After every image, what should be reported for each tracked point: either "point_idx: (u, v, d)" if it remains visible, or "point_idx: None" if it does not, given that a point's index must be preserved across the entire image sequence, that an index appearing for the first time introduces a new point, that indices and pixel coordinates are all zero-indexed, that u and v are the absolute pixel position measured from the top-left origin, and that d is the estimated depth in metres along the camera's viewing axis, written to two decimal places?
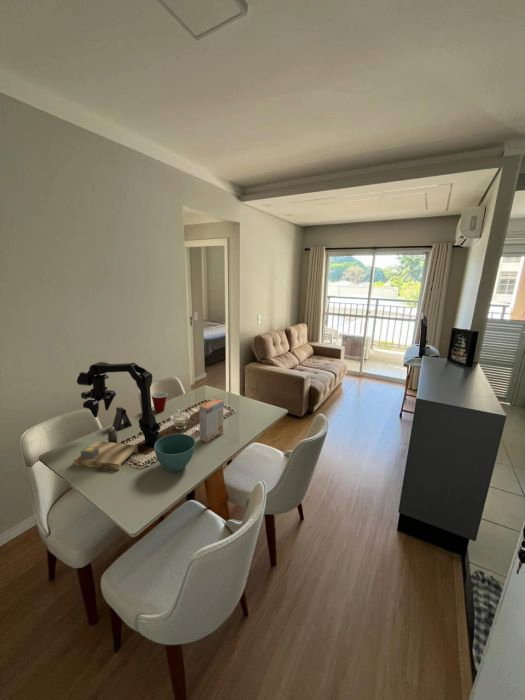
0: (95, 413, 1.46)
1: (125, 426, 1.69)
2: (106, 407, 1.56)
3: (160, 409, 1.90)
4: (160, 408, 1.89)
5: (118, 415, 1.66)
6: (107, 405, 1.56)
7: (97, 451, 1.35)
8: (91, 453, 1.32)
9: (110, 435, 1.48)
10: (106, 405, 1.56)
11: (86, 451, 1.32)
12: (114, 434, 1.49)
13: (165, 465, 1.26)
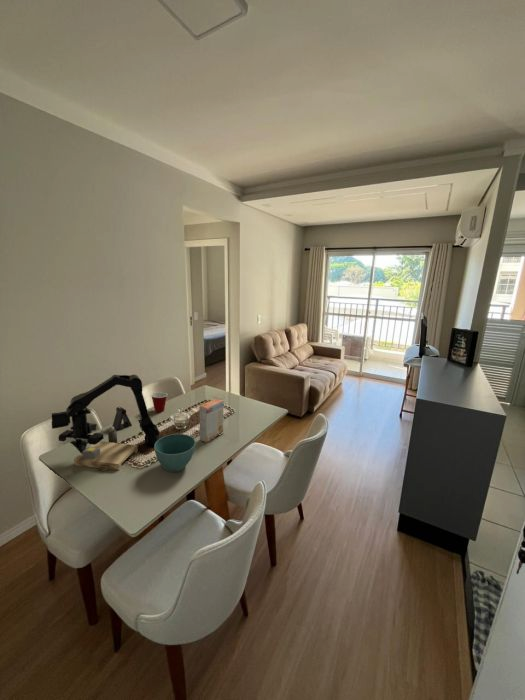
0: None
1: (125, 426, 1.69)
2: None
3: (160, 409, 1.90)
4: (160, 408, 1.89)
5: (118, 415, 1.66)
6: None
7: (98, 451, 1.35)
8: (92, 453, 1.31)
9: (110, 435, 1.48)
10: None
11: (87, 451, 1.32)
12: (114, 434, 1.49)
13: (165, 465, 1.26)
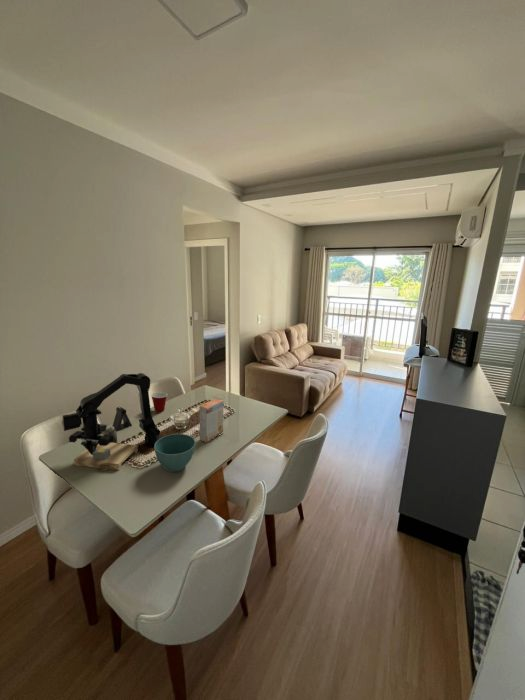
0: None
1: (125, 426, 1.69)
2: None
3: (160, 409, 1.90)
4: (160, 408, 1.89)
5: (118, 415, 1.66)
6: None
7: (109, 452, 1.34)
8: (103, 454, 1.31)
9: None
10: None
11: (98, 452, 1.32)
12: (114, 434, 1.49)
13: (165, 465, 1.26)
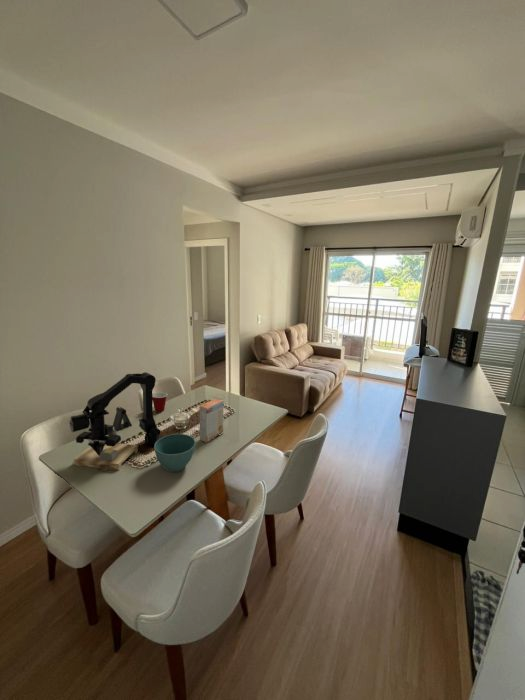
0: None
1: (125, 426, 1.69)
2: None
3: (160, 409, 1.90)
4: (160, 408, 1.89)
5: (118, 415, 1.66)
6: None
7: (116, 453, 1.34)
8: (110, 455, 1.31)
9: (110, 435, 1.48)
10: None
11: (105, 453, 1.31)
12: (114, 434, 1.49)
13: (165, 465, 1.26)
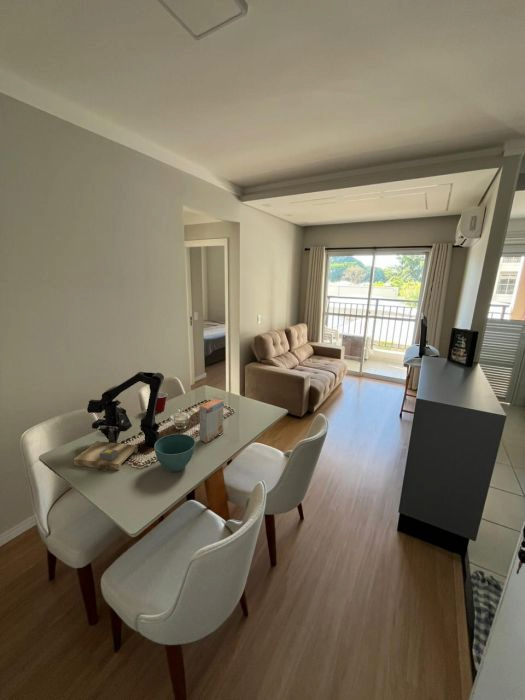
0: None
1: None
2: None
3: (160, 409, 1.90)
4: (160, 408, 1.89)
5: None
6: None
7: (116, 453, 1.34)
8: (110, 455, 1.31)
9: (110, 435, 1.48)
10: None
11: (105, 453, 1.31)
12: None
13: (165, 465, 1.26)
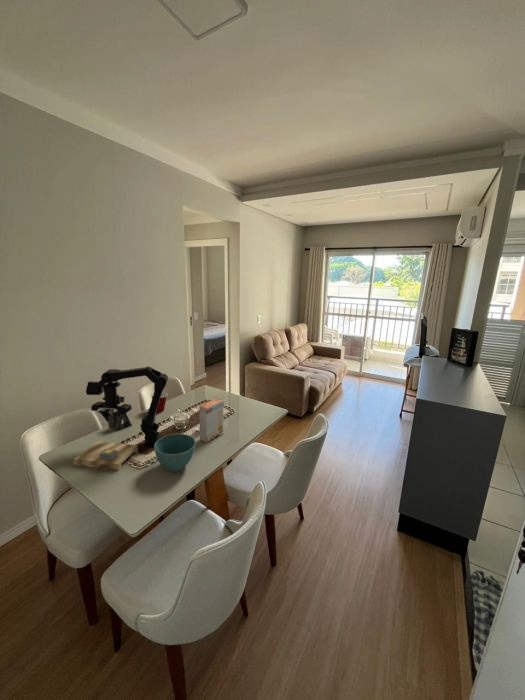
0: None
1: (125, 426, 1.69)
2: None
3: (160, 409, 1.90)
4: (160, 408, 1.89)
5: None
6: None
7: (116, 453, 1.34)
8: (110, 455, 1.31)
9: (110, 417, 1.44)
10: None
11: (105, 453, 1.31)
12: None
13: (165, 465, 1.26)
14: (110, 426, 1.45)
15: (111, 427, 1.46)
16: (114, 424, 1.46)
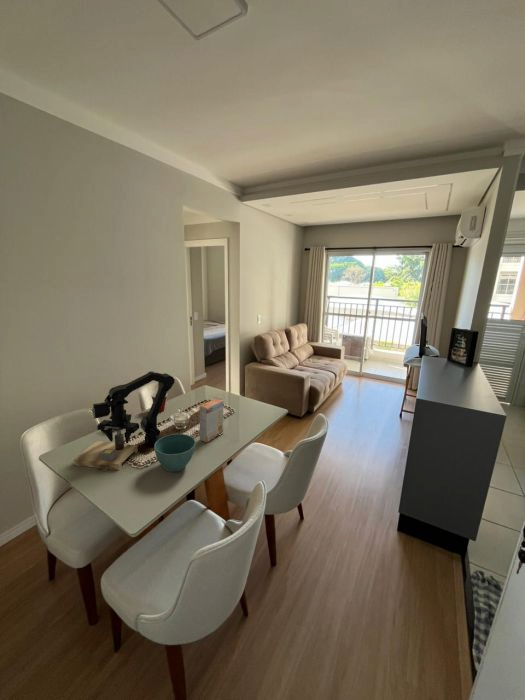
0: None
1: None
2: None
3: (160, 409, 1.90)
4: (160, 408, 1.89)
5: None
6: None
7: (116, 453, 1.34)
8: (110, 455, 1.31)
9: (117, 439, 1.38)
10: None
11: (105, 453, 1.31)
12: (121, 438, 1.39)
13: (165, 465, 1.26)
14: (117, 448, 1.39)
15: (118, 449, 1.40)
16: (121, 446, 1.40)
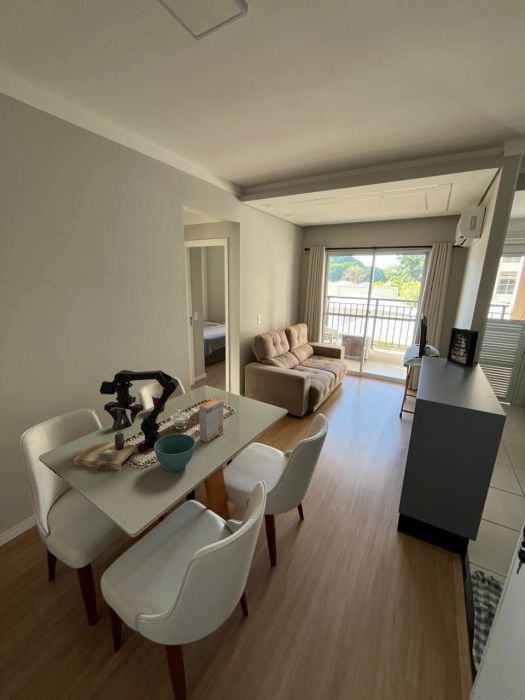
0: None
1: (125, 426, 1.69)
2: None
3: None
4: None
5: (118, 415, 1.66)
6: None
7: (116, 453, 1.34)
8: (110, 455, 1.31)
9: (117, 439, 1.39)
10: None
11: (105, 453, 1.31)
12: (121, 438, 1.39)
13: (165, 465, 1.26)
14: (117, 448, 1.39)
15: (118, 449, 1.40)
16: (121, 445, 1.40)
